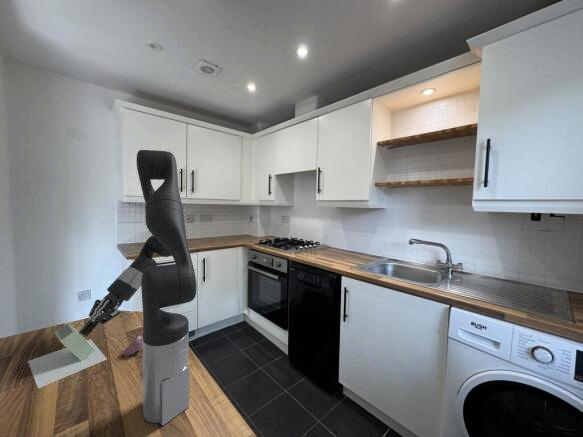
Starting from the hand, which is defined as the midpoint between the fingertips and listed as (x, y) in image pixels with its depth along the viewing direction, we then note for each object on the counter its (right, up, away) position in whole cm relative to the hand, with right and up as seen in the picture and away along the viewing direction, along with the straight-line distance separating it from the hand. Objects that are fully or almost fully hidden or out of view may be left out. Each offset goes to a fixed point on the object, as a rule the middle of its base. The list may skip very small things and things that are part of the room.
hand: (83, 334), depth 70 cm
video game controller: (+14, -7, +5) cm, 17 cm away
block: (0, -5, +1) cm, 5 cm away
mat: (-2, -7, -2) cm, 7 cm away
